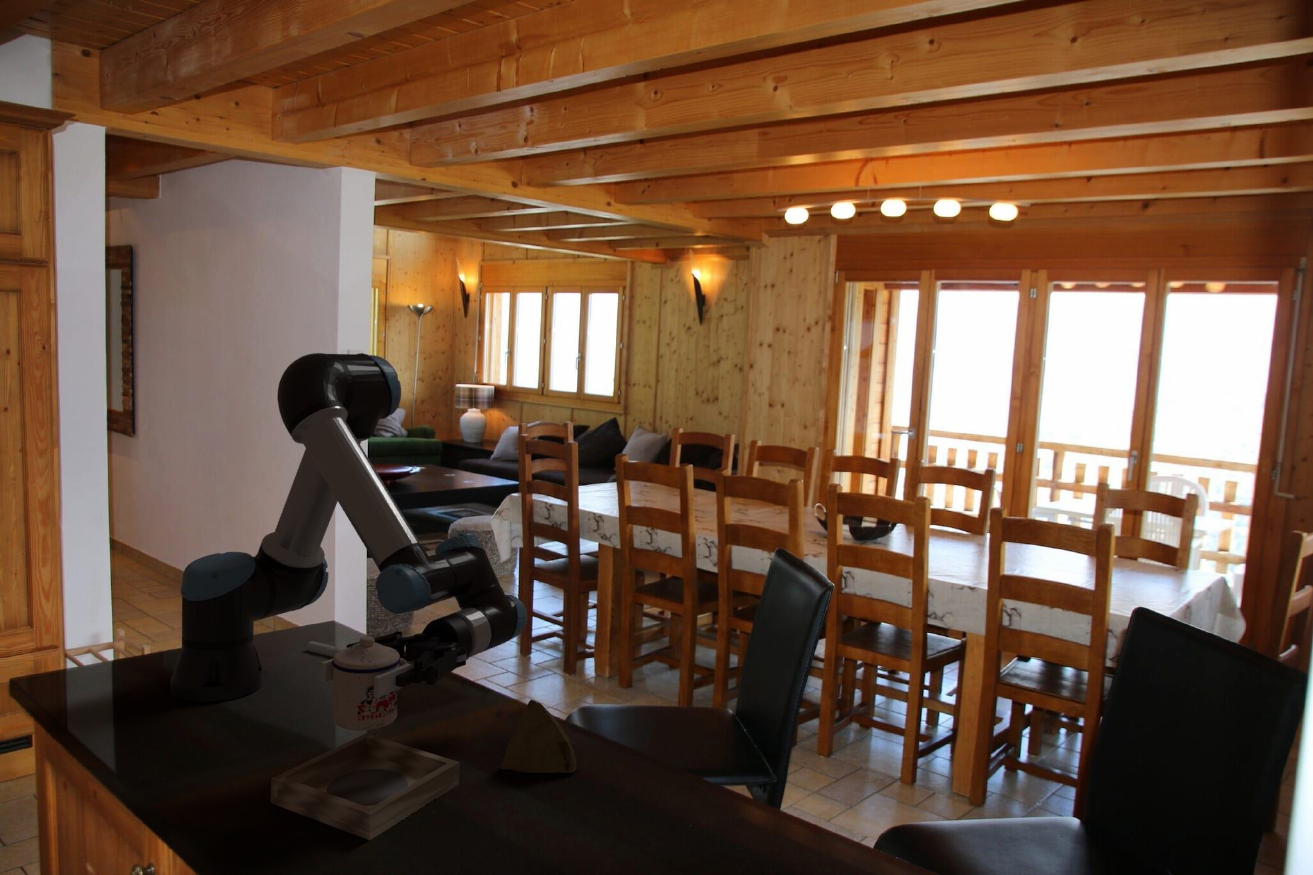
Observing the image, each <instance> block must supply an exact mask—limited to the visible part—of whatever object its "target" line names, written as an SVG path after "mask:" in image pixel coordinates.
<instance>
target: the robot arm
mask: <svg viewBox="0 0 1313 875" xmlns="http://www.w3.org/2000/svg"><path fill="white" fill-rule="evenodd" d="M398 376H399V375H398V373H397V370H395V368H394V366H393V365H392V364H391V363H390V362H389V361H388V360H386V359H385V358H383V357H381V356H379V355H374V354H372V355H371V354H367V353H362V352H361V353H360V352H359V353H354V354H353V353H324V352H322V353H321V352H313V353H309V354H305V355H302V356H300V357H298V358H296V359H295V360H294V361H292V362H291V363H290V364H289V365H288V366H287V367H286V369H285V370H284V372H283V373H282V375H281V378H280V380H279V383H278V387H277V398H276V399H277V404H278V411H279V415H280V417H281V420H282V422H283V424H284V428H286V430H287V432H288V434H289V435H290V437H291V439H292V440H293V442H295V443H296V444H300V445H303V446H304V447H305V450H304V453H303V454H302V457H301V460H300V463H299V465H298V468H297V471H296V473H295V476H294V479H293V482H292V483H291V486H290V490H289V492H288V494H287V497H286V500H285V502H284V505H283V508H282V511H281V514H280V516H279V519H278V521H277V525H276V527H275V530H274V531H272V532H270V533H268V534H265V536H263V538H262V539H261V543H260V546H259V548H258V551H257V553H256V555H255V556H253V555H252V554H249V553H247V552H243V551H226V552H224V553H220V552H218V553H213V554H209V555H205V556H202V557H199V558H197V559H195V560H193V561H191V562H190V563H189V564H188V565H186V566H185V569H184V571H183V572H182V582H181V583H182V584H181V586H180V587H181V588H180V594H181V648H180V651H179V654H178V658H177V661H176V662H175V666H174V671H173V673H172V675H171V677H170V686H169V687H170V690H169V691H170V692H169V693H170V694H171V696H173V697H175V698H177V699H180V700H183V701H187V702H198V703H199V702H200V703H202V702H203V703H207V702H208V703H210V702H221V701H229V700H233V699H238V698H242V697H244V696H248V695H249V694H253V693H254V692H256V691H257V690H259V689H260V688H262V686H263V684H264V669H263V666H262V662H261V660H260V657H259V655H258V651H257V648H256V646H255V642H254V631H255V630H254V624H255V622H257V621H260V620H263V619H267V618H270V617H274V616H278V615H283V614H285V613H286V614H287V613H289V612H295V611H297V610H302V609H303V608H306V607H307V606H309V605H312V604H313V603H315V602H317V601H318V600H319V599H320V598H321V596H323V594H324V592H325V591H326V589H327V586H328V583H329V582H328V581H329V571H327V569H328V567H329V566H328V563H327V560H326V558H325V557H326V556H325V550H324V549H323V548H322V543H323V540H324V537H325V534H326V532H327V529H328V527H329V525H330V522H331V519H332V516H333V515H334V512H335V509H336V506H337V505H338V504H339V505H340V507H341V509H342V511H343V513H344V514H345V516H346V518H347V519H348V521H349V522H350V524H351V526H352V527H353V529H354V530H355V533H356V534H357V536H358V537H359V539H360V540H361V543H362V544H363V545H364V547H365V549H366V550H367V552H368V554H369V555H370V557H371V559H372V561H373V562H374V564H375V566H376V567H377V570H379V574H378V576H377V577H376V581H375V590H376V593H377V596H376V597H377V600H378V602H379V603H380V605H381V606H382V607H383V608H384V609H385V610H387V611H388V612H390V613H392V614H398V615H399V614H405V613H411V612H415V611H417V612H418V611H419V610H421V609H422V610H423V609H424V608H426V607H429V606H432V605H435V604H437V603H439V602H444V601H447V600H450V599H452V598H455V600H456V603H457V604H458V607H459V610H457V611H454V612H452V613H450V614H447V615H444V616H442V617H438V618H436V619H433V620H432V621H429V622H428V623H427V625H426V626H424V628H423V631H422V632H419V633H415V634H413V635H411V636H410V635H409V636H403V632H402V631H399V630H397V631H394V632H392V633H389V634H386V635H382V636H378V637H373V638H374V639H375V643H378V644H381V645H382V646H386V647H390V648H393V649H394V650H396V651H397V652H398V653H399V655H400V658H402V659H404V660H405V661H406V662H407V663H408V662H413V664H411V663H408V664H405V665H403V666H400V665H399V667H398V668H395V669H393V670H390V671H388V672H385V673H383V674H380V675H378V676H376V677H374V697H377V698H379V697H381V696H383V695H385V694H388V693H390V692H392V691H395V690H397V689H399V688H401V689H402V688H403V687H406V686H409V685H411V684H421V683H422V682H423V681H424V682H426V683H425V684H426V685H428V686H433V685H435V684H436V683H438V682H439V681H441V680H442V679H443V678H445V677H446V676H448V675H449V674H450V673H451V672H454V671H455V670H456V669H458V668H462V667H464V666H466V665H467V661H468V660H469V659H470V658H472V657H474V656H476V655H478V654H481V653H484V652H486V651H488V650H491V649H494V648H496V647H498V646H500V645H504V644H505V643H507V642H509V641H511V640H513V639H515V638H516V637H518V636H520V634H522V633H523V631H524V630H525V628H526V625H527V623H528V613H527V608H526V605H525V604H524V603H523V602H522V601H521V600H520V598H518V597H517V596H515V595H512V594H506V593H505V591H504V589H503V587H502V586H501V584H500V581H499V580H498V577H497V575H496V573H495V571H494V569H493V566H492V564H491V562H490V559H489V557H488V555H487V552H486V549H485V548H484V547H483V546H482V543H481V541H480V540H479V538H478V536H477V535H476V533H475V532H472V531H465V532H464V531H463V532H460V533H459V534H457V535H453V536H451V537H448V538H447V539H445V540H443V541H442V542H440V543H439V544H437V545H436V546H435V549H434V553H435V554H432V555H429V554H428V553H427V551H426V549H425V548H424V547H423V546H422V543H421V542H420V540H419V538H418V537H417V535H416V534H415V532H414V531H413V529H412V527H411V526H410V524H409V522H408V521H407V519H406V518H405V516H404V514H403V513H402V510H401V509H400V507H399V505H398V504H397V502H396V501H395V499H394V498H393V496H392V495H391V493H390V492H389V490H388V488H387V487H386V485H385V484H384V481H383V480H382V478H381V476H380V475H379V473H378V471H377V470H376V469H375V466H374V465H373V464H372V462H371V460H370V459H369V457H368V455H367V454H366V452H365V450H364V449H363V447H362V446H361V444H362V442H363V441H367V440H370V439H371V438H373V436H374V434H375V431H376V429H377V426H378V424H379V421H380V420H381V419H382V420H384V419H387V418H388V417H390V416H392V415H393V414H394V413H395V412H396V411H397V410H398V408H399V405H400V403H401V399H402V385H401V382H400V380H399V378H398ZM337 503H338V504H337ZM358 643H360V641H357V642H353V643H348V644H346V648H349V647H352V646H353V645H355V644H358ZM332 660H333V658H331V659H328V660H325V661H322V662H321V673H320V677H321V678H320V681H321V682H322V683H327V682H331V681H333V673H334V666H333V665H332ZM412 665H413V666H412ZM412 667H413V668H412Z"/></svg>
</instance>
